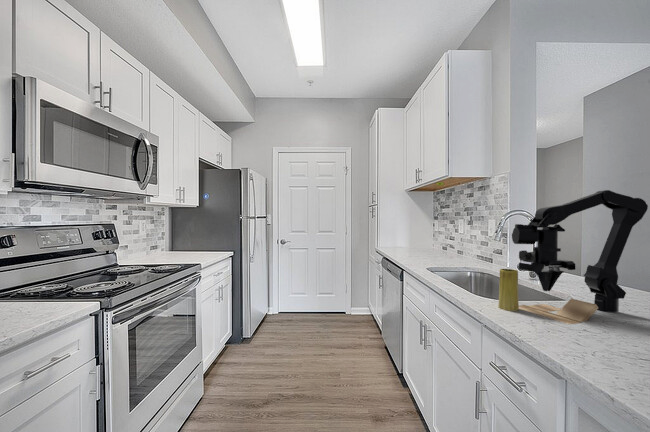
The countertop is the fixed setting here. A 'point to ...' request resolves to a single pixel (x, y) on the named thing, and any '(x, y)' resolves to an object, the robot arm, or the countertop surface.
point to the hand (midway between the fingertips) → (546, 290)
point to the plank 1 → (545, 307)
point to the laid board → (549, 315)
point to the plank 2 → (578, 310)
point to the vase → (508, 290)
